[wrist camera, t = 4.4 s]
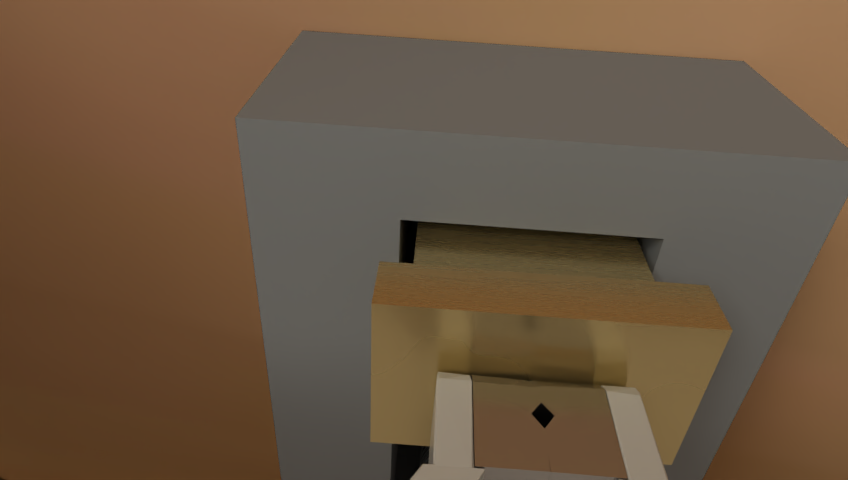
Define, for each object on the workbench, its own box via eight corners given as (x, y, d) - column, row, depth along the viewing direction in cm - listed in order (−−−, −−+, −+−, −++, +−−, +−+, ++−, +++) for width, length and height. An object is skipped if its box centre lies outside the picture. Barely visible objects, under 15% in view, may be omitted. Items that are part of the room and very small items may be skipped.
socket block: (302, 30, 14) (234, 117, 10) (743, 61, 14) (865, 162, 10) (325, 430, 22) (293, 572, 18) (606, 452, 22) (640, 600, 18)
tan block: (404, 127, 13) (371, 304, 8) (632, 143, 13) (733, 330, 8) (400, 240, 15) (370, 442, 10) (601, 254, 15) (671, 465, 10)
